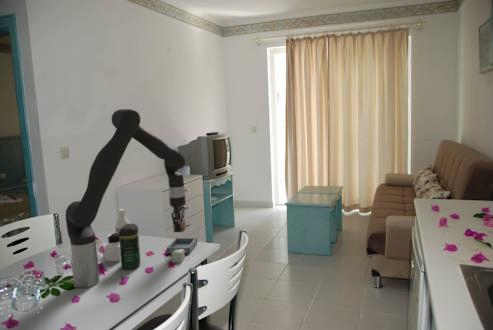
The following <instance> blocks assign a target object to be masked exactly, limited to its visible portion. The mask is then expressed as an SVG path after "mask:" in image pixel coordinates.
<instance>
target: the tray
mask: <svg viewBox="0 0 493 330" xmlns="http://www.w3.org/2000/svg"><path fill="white" fill-rule="evenodd" d="M197 244H198V238H197V237H175V238H174V239H173V241H172V242H171V243H170V244H169V245H167V247H166V253H167V252H169V253H170V254H169V255H172V252H173V251H174V249H184V251H186V253H187V254H186V255H190V254H191V253H192V252H193V250H194V248H195V247H196V246H197Z"/></svg>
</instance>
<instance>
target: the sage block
mask: <svg viewBox="0 0 493 330" xmlns="http://www.w3.org/2000/svg"><path fill="white" fill-rule="evenodd" d="M184 258H186V254H184V249H174V251H173V252H172V254H171V260H172V261H174V262H173V263H183V262H182V261H185V259H184Z"/></svg>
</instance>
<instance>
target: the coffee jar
mask: <svg viewBox="0 0 493 330" xmlns="http://www.w3.org/2000/svg"><path fill="white" fill-rule="evenodd" d="M139 236H140V235H139V226H138V225H137V224H135V223H130V224H125V225H124V226H122V227H121V228H120V230H119V239H120V251H121V261H120V262H121V263H120V264H121V268H122V269H125V270H132V269H137V268H138V267H140V265H141V254H140V253H141V252H140V239H139V238H140V237H139Z"/></svg>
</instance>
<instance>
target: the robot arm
mask: <svg viewBox="0 0 493 330" xmlns="http://www.w3.org/2000/svg"><path fill="white" fill-rule="evenodd" d="M111 124H112V125H113V126H114V128H115V132H114V134H112V137H111V138H110V139H109V140H108V142H107V143H106V144H105V145H104V146H103V147H102V148H101V149H100V150H99V151H98V153H97V155H96V157H95V158H94V161H93V162H92V165H91V166H90V168H89V169H90V170H89V175H88V181H87V186H86V187H87V188H86V190H85V192H84V194H83V196H82V198H81V200H77V201H73V202H70V204H69V205H68V206H67V207H66V210H65V222H66V230H67V235H68V238H69V241H70V248H71V260H72V264H71V269H72V279H73V287H74V288H90V287H92V286H94V285H96V284H98V283H99V282H100V271H99V264H98V263H99V262H98V261H99V260H98V251H97V242H96V234H95V231H94V230H93V228H92V224H93V222H94V221H95V219H96V217H97V214H98V212H99V209H100V206H101V203H102V201H103V198H104V195H105V194H106V192H107V189H108V187H109V185H110V183H111V181H112V179H113V177H114V175H115V173H116V171H117V168H118V167H119V164H120V162H121V161H122V158H123V156H124V154H125V152H126V150H127V148H128V146H129V144H130V142H131V140H132V139H134V140H135V141H136V142H138V143H139V144H141V145H142V146H143V147H145V148H146V149H147V150H149V151H150V152H151V153H152V154H153V155H154V156H155V157H157V158H158V159H161V160H164V161H163V166H164V170H165V172H166V175H167V178H168V199H169V206H170V207H172V208H173V209H172V212H171V220H172V225H173V224H175V231H176V232H175V233H181V232H180V220H185V208H186V207H185V206H186V191H185V185H184V184H185V181H184V180H185V179H184V176H183V174H182V173H180V172H179V170H181V169H183V168H184V167H185V166H186V159H185V156H183V154H181V153H180V152H178V150H176V149H174V148H172V147H170V146H169V145H168V144H167V143H165V142H164V141H163V140H162V139H161V138H159V137H158V136H157V135H155V134H154V133H152V132H149V131H148V130H147V129H144V128H143V127H142V126H141V115H140V113H139V112H138V111H137V110H136V109H132V108H130V109H129V108H123V109H118V110H116V111H114V112H113V113H112V115H111ZM176 220H177V221H176Z"/></svg>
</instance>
